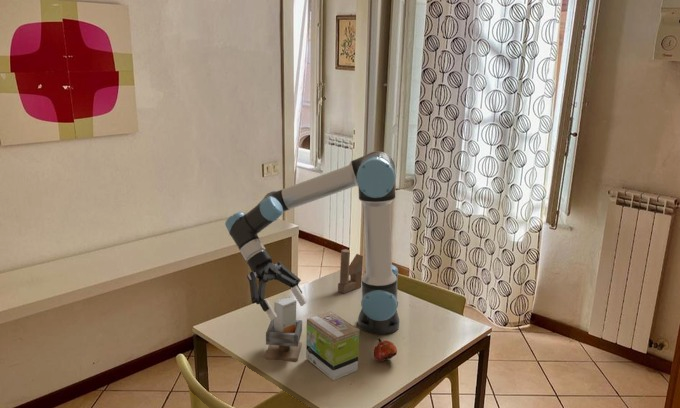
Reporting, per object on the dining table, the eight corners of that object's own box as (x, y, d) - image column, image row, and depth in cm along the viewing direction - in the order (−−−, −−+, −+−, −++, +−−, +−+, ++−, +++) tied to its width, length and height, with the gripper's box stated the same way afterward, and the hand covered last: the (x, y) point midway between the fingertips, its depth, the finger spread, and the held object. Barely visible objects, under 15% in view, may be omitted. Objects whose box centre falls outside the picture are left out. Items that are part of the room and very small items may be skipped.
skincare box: (282, 340, 176) (282, 305, 173) (273, 335, 179) (273, 301, 176) (296, 333, 181) (296, 300, 178) (287, 329, 184) (288, 296, 180)
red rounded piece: (399, 368, 178) (389, 340, 183) (403, 360, 172) (393, 331, 177) (377, 373, 176) (368, 344, 181) (381, 365, 170) (371, 335, 176)
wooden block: (361, 287, 234) (363, 247, 229) (343, 294, 226) (345, 252, 222) (355, 284, 236) (357, 244, 232) (337, 291, 229) (338, 250, 224)
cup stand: (301, 344, 186) (302, 320, 184) (297, 360, 176) (297, 335, 174) (271, 342, 186) (271, 318, 184) (265, 358, 177) (265, 333, 174)
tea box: (304, 359, 177) (305, 317, 173) (329, 350, 183) (331, 309, 179) (332, 381, 166) (334, 337, 162) (358, 371, 171) (360, 328, 168)
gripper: (277, 251, 193) (309, 303, 188) (221, 272, 174) (255, 330, 169) (288, 240, 188) (321, 293, 183) (232, 260, 169) (266, 319, 164)
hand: (289, 311), depth 176 cm, fingers open, 13 cm apart
